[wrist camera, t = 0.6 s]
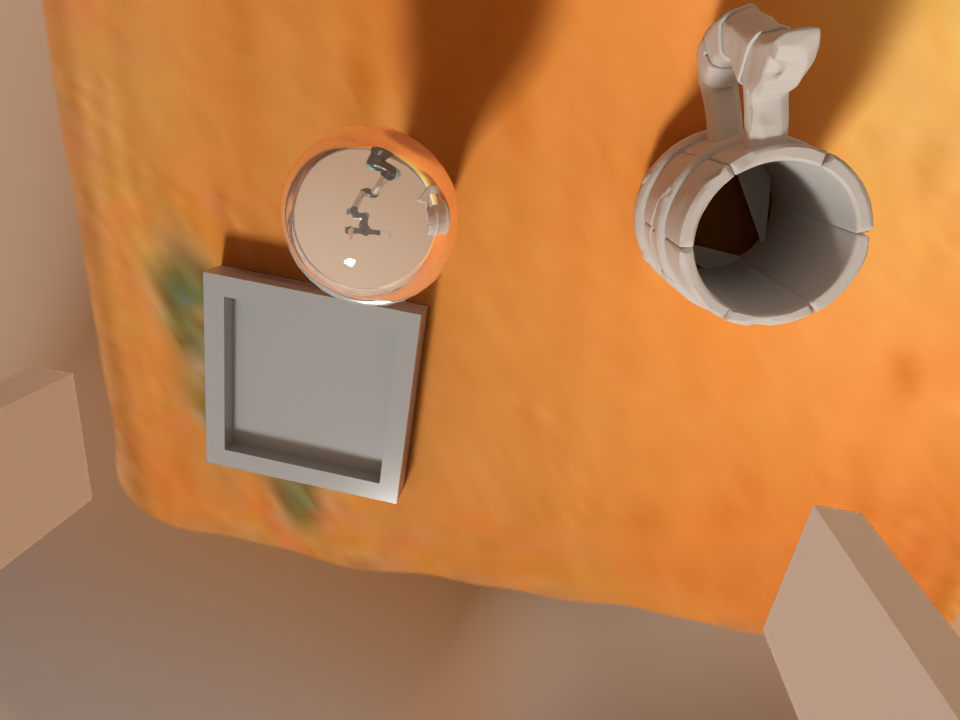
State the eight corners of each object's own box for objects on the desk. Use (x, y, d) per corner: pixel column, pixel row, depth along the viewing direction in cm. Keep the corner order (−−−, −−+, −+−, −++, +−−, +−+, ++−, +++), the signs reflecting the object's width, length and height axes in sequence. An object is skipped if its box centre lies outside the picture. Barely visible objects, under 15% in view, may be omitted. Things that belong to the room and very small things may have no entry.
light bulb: (439, 287, 33) (375, 365, 21) (334, 214, 32) (212, 254, 21) (511, 181, 30) (481, 206, 19) (399, 99, 29) (299, 75, 18)
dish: (221, 265, 34) (203, 271, 32) (428, 306, 33) (421, 314, 31) (222, 447, 38) (206, 462, 37) (403, 487, 38) (396, 503, 36)
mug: (636, 293, 31) (676, 378, 20) (616, 50, 27) (653, -11, 16) (789, 273, 30) (923, 354, 19) (791, 14, 26) (962, -79, 15)
